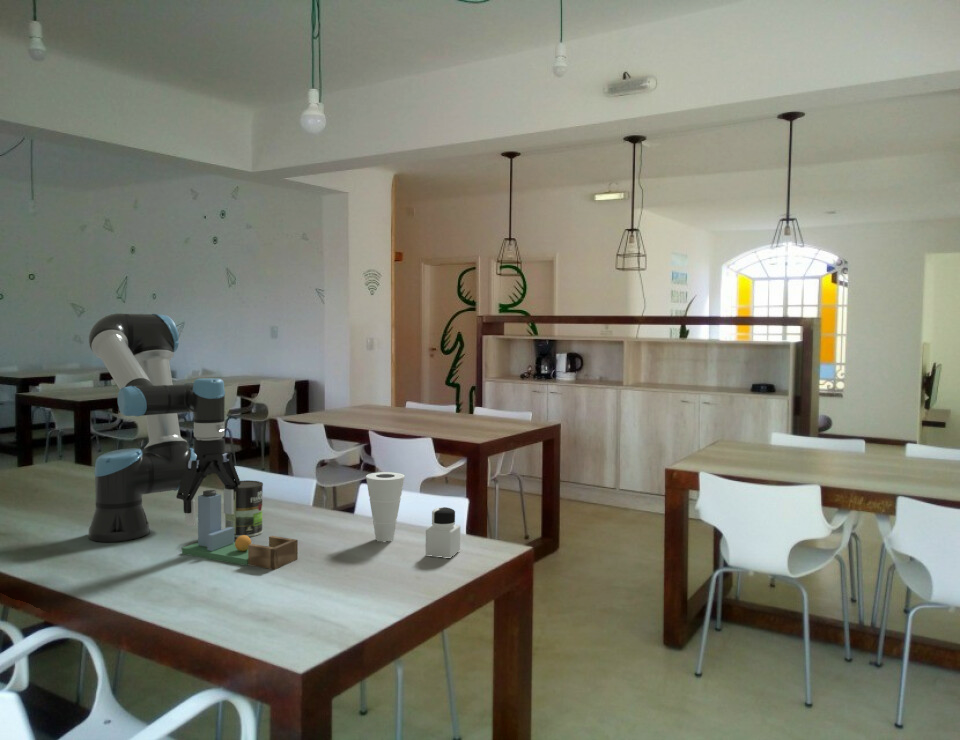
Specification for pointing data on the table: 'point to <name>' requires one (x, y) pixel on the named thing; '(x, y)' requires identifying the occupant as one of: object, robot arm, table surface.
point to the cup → (385, 502)
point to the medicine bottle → (443, 533)
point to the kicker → (212, 522)
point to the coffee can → (246, 509)
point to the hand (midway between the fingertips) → (210, 519)
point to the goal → (273, 553)
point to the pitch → (218, 553)
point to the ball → (242, 543)
